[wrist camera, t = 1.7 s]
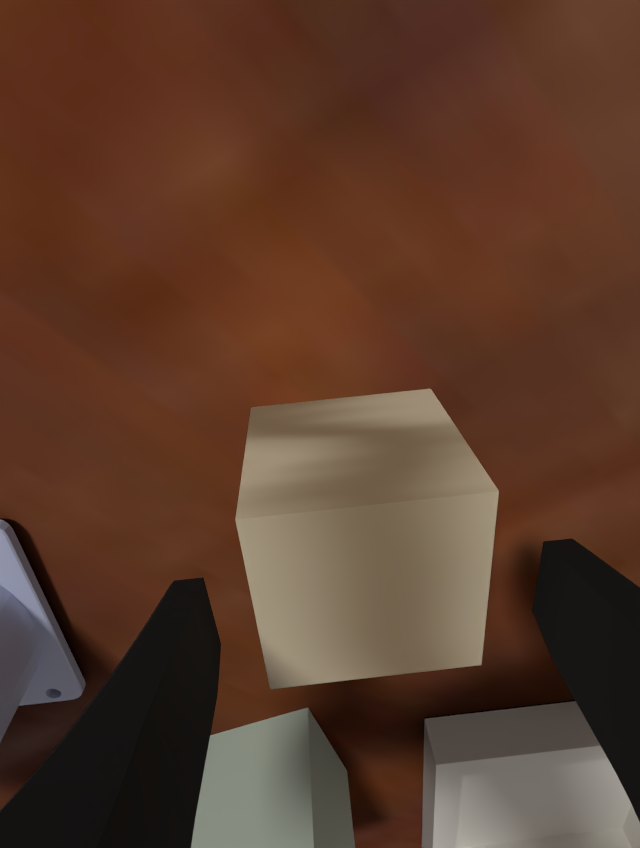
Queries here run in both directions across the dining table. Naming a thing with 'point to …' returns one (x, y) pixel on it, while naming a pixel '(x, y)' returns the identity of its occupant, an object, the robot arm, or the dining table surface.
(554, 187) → the dining table surface
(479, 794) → the tray
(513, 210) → the dining table surface
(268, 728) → the sage cube
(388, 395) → the maple cube
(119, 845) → the robot arm
